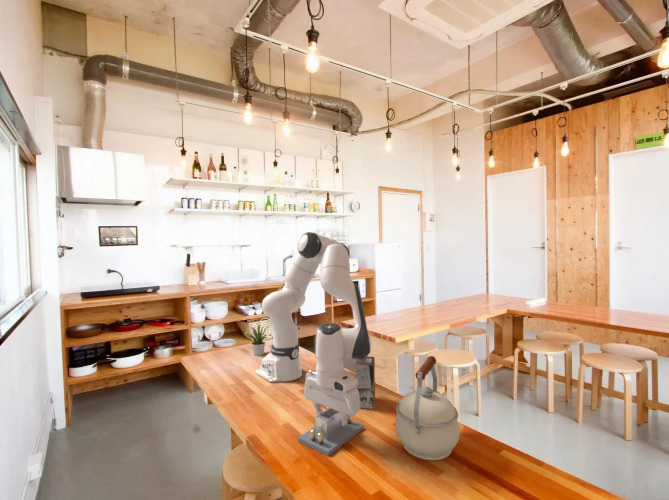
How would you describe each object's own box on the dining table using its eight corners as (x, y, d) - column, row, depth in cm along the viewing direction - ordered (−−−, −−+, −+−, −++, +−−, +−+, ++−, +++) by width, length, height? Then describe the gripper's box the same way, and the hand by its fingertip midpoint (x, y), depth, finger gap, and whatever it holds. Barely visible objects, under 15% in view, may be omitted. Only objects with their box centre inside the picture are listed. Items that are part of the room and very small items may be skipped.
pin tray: (298, 441, 107) (297, 427, 107) (334, 416, 121) (334, 404, 121) (328, 456, 99) (327, 441, 99) (363, 428, 113) (363, 415, 113)
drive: (315, 435, 108) (315, 416, 108) (336, 421, 116) (335, 403, 115) (327, 440, 105) (326, 420, 105) (346, 426, 113) (346, 407, 113)
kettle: (452, 478, 89) (451, 383, 88) (384, 457, 98) (383, 370, 97) (467, 430, 111) (466, 353, 110) (410, 416, 120) (409, 345, 119)
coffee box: (373, 409, 126) (372, 365, 125) (355, 407, 127) (355, 364, 126) (375, 397, 135) (375, 356, 134) (359, 396, 136) (358, 355, 135)
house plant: (266, 347, 198) (265, 319, 197) (278, 353, 187) (277, 323, 186) (242, 353, 189) (241, 323, 188) (253, 360, 178) (252, 328, 177)
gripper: (299, 372, 114) (300, 413, 114) (350, 388, 101) (350, 435, 101) (312, 366, 118) (313, 406, 119) (362, 381, 106) (363, 426, 106)
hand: (331, 419), depth 110 cm, fingers open, 8 cm apart
